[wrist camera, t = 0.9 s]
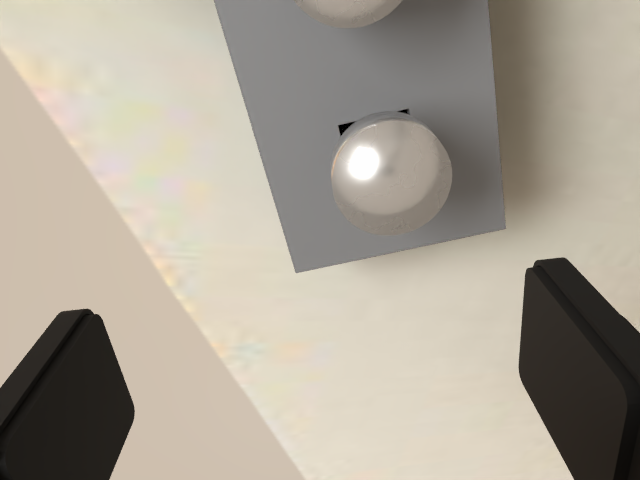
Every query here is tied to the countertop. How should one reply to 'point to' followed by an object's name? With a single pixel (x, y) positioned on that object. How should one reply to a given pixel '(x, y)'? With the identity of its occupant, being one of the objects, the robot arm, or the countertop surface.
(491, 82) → the control panel
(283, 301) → the countertop surface
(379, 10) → the middle knob
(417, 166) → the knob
